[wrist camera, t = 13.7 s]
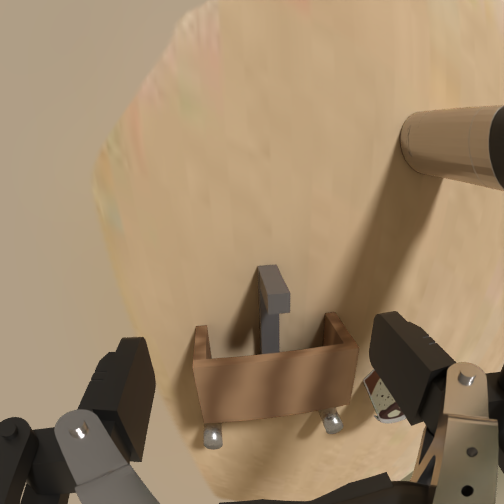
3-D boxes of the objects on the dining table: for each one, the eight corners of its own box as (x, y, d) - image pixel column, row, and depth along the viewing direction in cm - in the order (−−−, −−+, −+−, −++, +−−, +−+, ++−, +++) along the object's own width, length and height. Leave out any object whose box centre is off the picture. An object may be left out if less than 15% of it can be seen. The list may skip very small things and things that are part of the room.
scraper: (304, 262, 42) (324, 289, 34) (300, 369, 48) (314, 407, 40) (228, 268, 42) (231, 297, 33) (237, 376, 47) (241, 416, 39)
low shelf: (334, 312, 45) (359, 347, 36) (330, 365, 48) (349, 404, 39) (196, 326, 44) (192, 367, 35) (205, 379, 47) (204, 423, 38)
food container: (375, 396, 52) (397, 432, 43) (356, 385, 51) (378, 424, 41) (421, 349, 50) (450, 380, 41) (405, 335, 48) (435, 368, 39)
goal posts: (334, 397, 51) (344, 420, 45) (332, 409, 52) (342, 431, 46) (202, 413, 49) (202, 439, 43) (205, 424, 50) (205, 449, 44)
